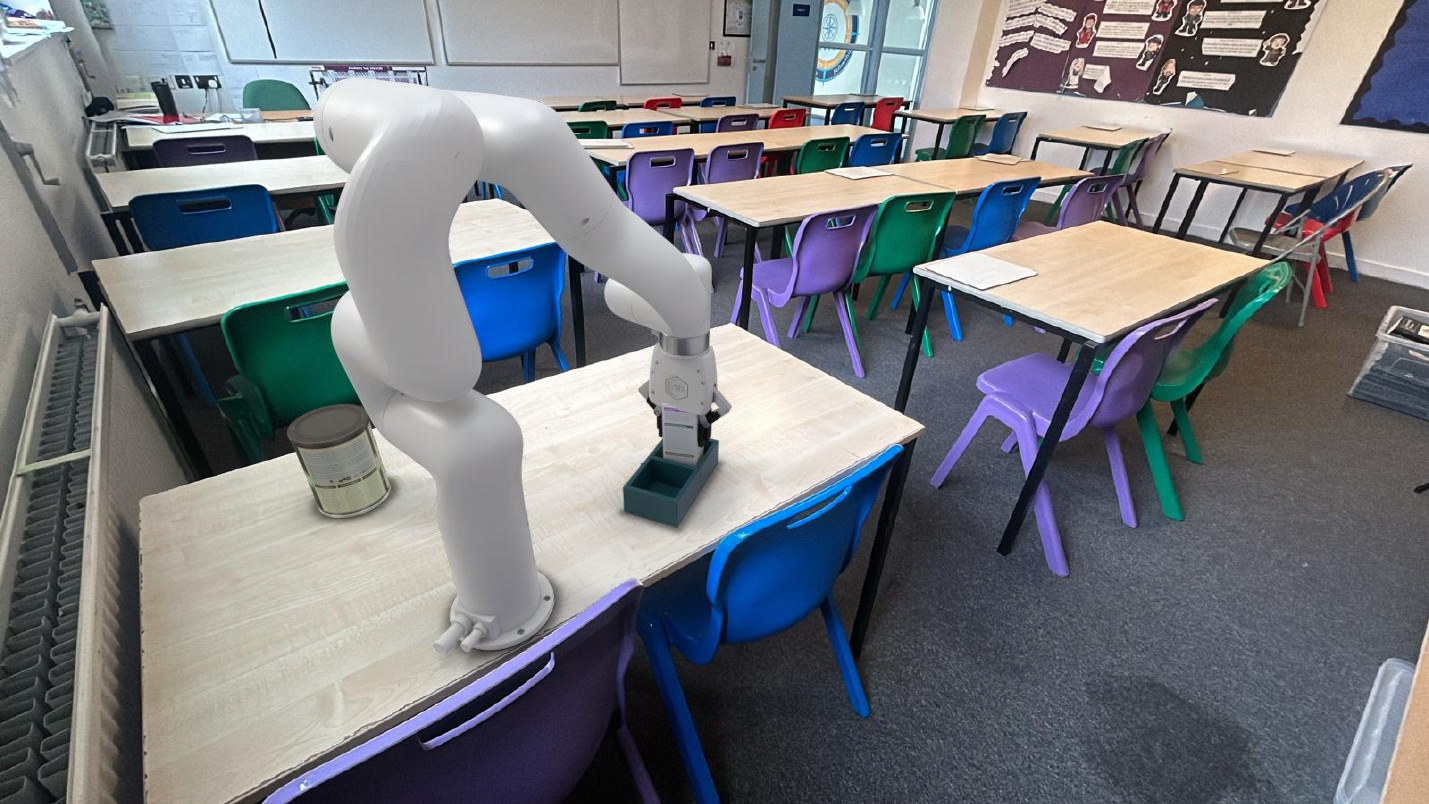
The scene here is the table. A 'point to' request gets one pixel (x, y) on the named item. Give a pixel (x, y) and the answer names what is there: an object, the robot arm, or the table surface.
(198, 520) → the table surface
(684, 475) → the tray
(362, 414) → the coffee can
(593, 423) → the table surface
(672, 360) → the robot arm
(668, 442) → the syrup box
